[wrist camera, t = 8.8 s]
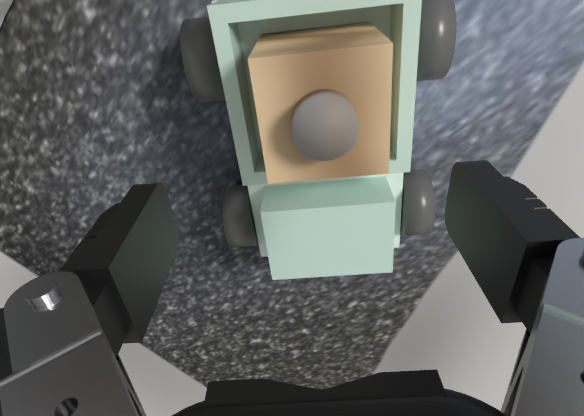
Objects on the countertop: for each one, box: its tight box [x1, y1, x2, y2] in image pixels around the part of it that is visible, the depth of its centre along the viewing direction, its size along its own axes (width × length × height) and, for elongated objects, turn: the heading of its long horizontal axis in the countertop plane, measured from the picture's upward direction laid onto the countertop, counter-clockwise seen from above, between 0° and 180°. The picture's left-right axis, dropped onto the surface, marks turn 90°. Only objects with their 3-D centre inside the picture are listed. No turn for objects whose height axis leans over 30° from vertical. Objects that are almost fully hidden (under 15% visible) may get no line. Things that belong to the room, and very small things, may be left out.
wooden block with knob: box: [248, 21, 393, 184], centre depth 16 cm, size 5×5×6 cm
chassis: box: [180, 0, 456, 280], centre depth 21 cm, size 12×15×6 cm
